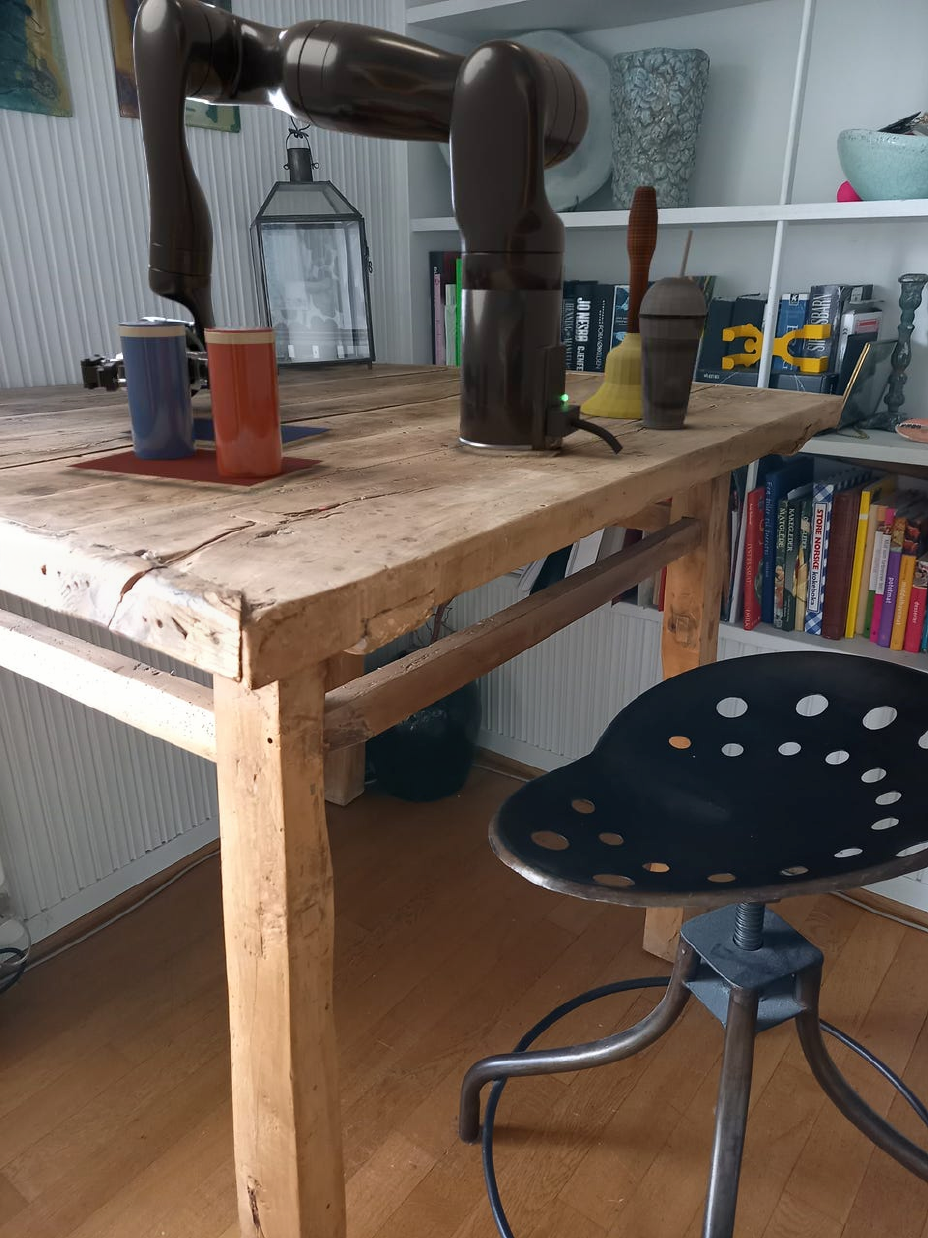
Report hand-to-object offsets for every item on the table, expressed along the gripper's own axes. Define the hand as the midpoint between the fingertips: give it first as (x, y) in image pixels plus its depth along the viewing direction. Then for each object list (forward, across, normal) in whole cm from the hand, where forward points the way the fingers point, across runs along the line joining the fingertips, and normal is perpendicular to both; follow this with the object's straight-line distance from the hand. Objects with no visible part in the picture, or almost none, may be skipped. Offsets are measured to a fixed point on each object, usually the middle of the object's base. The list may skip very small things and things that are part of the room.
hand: (160, 378), depth 79 cm
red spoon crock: (+12, +7, +6) cm, 15 cm away
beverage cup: (-7, +52, +7) cm, 53 cm away
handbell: (-18, +53, +7) cm, 57 cm away
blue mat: (-9, +5, +7) cm, 13 cm away
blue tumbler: (+3, 0, +6) cm, 7 cm away
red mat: (+7, +3, +7) cm, 10 cm away
